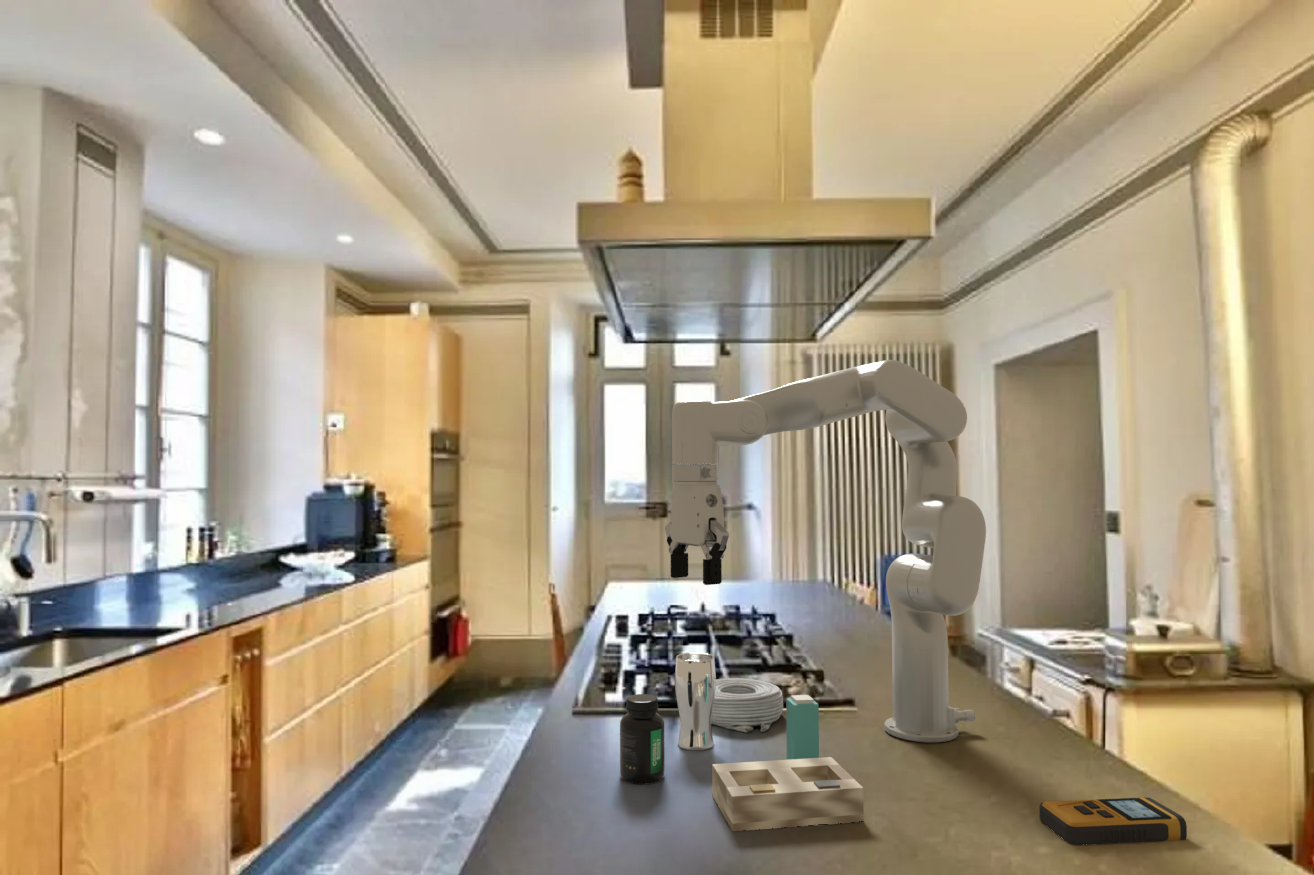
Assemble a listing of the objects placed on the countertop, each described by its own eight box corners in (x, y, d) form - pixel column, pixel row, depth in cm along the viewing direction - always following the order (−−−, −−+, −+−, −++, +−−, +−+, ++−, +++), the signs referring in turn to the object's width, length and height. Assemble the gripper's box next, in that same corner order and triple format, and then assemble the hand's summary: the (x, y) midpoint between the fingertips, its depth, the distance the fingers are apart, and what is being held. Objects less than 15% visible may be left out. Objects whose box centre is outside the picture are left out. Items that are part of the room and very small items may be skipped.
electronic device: (1035, 823, 112) (1034, 798, 112) (1145, 817, 114) (1144, 792, 114) (1072, 851, 104) (1071, 824, 104) (1190, 844, 105) (1189, 817, 105)
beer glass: (713, 753, 138) (712, 662, 139) (672, 750, 140) (671, 660, 140) (718, 739, 145) (718, 652, 146) (679, 737, 147) (678, 651, 147)
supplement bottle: (668, 783, 125) (667, 702, 126) (623, 786, 124) (622, 705, 125) (660, 767, 132) (660, 691, 132) (617, 770, 131) (617, 693, 131)
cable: (763, 737, 147) (763, 703, 147) (675, 723, 155) (675, 691, 155) (796, 711, 162) (795, 680, 163) (714, 700, 171) (713, 670, 171)
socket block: (831, 787, 123) (831, 754, 123) (863, 821, 111) (863, 785, 112) (712, 795, 120) (712, 762, 121) (732, 831, 109) (732, 794, 109)
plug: (810, 759, 135) (810, 693, 136) (819, 768, 131) (818, 700, 132) (786, 760, 135) (786, 694, 135) (794, 769, 131) (794, 701, 131)
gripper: (745, 476, 131) (745, 585, 131) (685, 475, 146) (686, 573, 146) (705, 476, 127) (706, 589, 127) (648, 475, 142) (649, 576, 142)
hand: (695, 580), depth 136 cm, fingers open, 9 cm apart
